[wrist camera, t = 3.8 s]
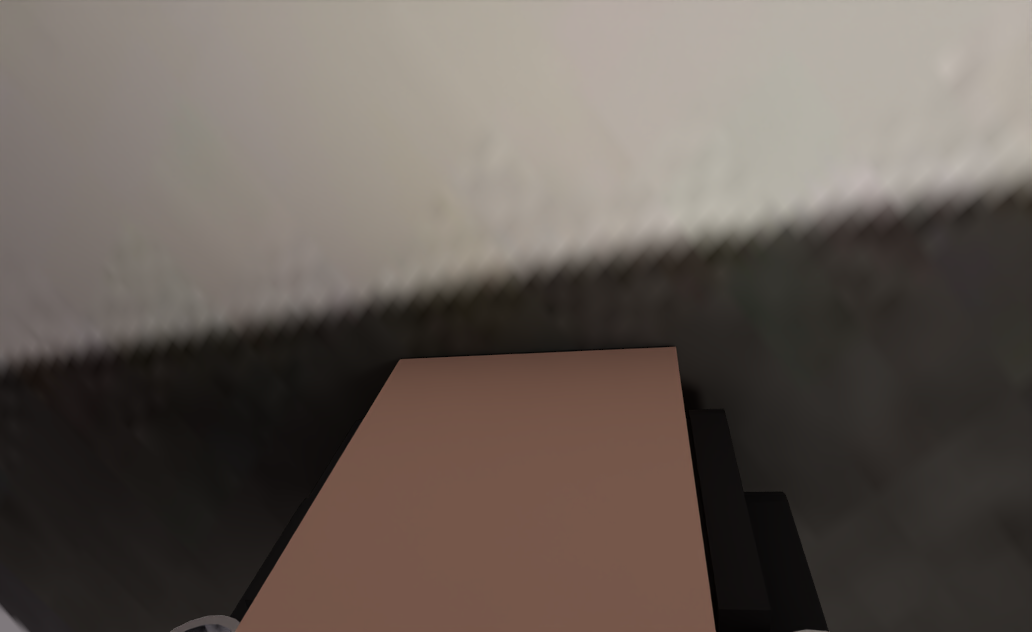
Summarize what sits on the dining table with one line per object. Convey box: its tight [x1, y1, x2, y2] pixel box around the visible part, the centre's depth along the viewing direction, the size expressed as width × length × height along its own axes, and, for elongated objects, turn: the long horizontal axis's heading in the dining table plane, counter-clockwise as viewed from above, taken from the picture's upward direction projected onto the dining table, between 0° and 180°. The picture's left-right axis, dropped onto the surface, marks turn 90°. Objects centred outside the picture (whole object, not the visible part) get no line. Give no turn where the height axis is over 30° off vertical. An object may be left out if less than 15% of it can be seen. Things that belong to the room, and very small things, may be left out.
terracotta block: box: [235, 347, 716, 632], centre depth 9 cm, size 4×4×6 cm
